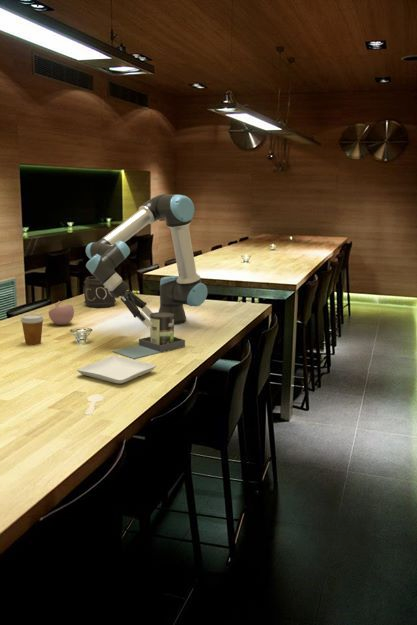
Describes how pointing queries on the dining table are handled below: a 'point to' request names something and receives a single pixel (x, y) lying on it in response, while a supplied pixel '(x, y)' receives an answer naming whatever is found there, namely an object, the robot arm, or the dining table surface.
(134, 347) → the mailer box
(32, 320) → the disposable coffee cup
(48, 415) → the dining table surface
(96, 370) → the salad plate
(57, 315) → the pink apple
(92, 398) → the spoon
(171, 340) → the coffee can
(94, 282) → the coffee canister
